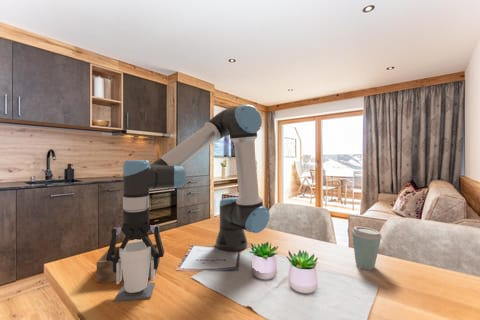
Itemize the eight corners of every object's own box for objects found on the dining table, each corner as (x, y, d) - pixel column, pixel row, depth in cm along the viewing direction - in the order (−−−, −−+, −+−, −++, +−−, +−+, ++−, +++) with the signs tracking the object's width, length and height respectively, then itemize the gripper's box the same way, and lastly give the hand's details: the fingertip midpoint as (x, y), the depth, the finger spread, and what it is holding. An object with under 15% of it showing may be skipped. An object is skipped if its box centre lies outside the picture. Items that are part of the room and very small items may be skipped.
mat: (154, 284, 80) (154, 282, 80) (150, 298, 72) (150, 296, 72) (122, 287, 78) (122, 285, 78) (114, 302, 70) (114, 299, 70)
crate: (159, 260, 97) (159, 244, 97) (154, 277, 84) (154, 258, 84) (110, 264, 93) (110, 246, 93) (96, 282, 80) (96, 262, 80)
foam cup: (140, 297, 69) (140, 253, 69) (112, 293, 71) (112, 250, 71) (157, 280, 78) (157, 241, 78) (132, 277, 80) (132, 239, 80)
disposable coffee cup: (366, 259, 101) (367, 224, 101) (388, 271, 90) (389, 232, 90) (345, 261, 98) (345, 225, 98) (364, 274, 88) (365, 234, 88)
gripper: (173, 205, 80) (173, 271, 80) (102, 207, 76) (102, 277, 76) (171, 210, 73) (171, 283, 73) (92, 213, 68) (92, 290, 69)
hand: (136, 280), depth 75 cm, fingers closed on foam cup, 9 cm apart
